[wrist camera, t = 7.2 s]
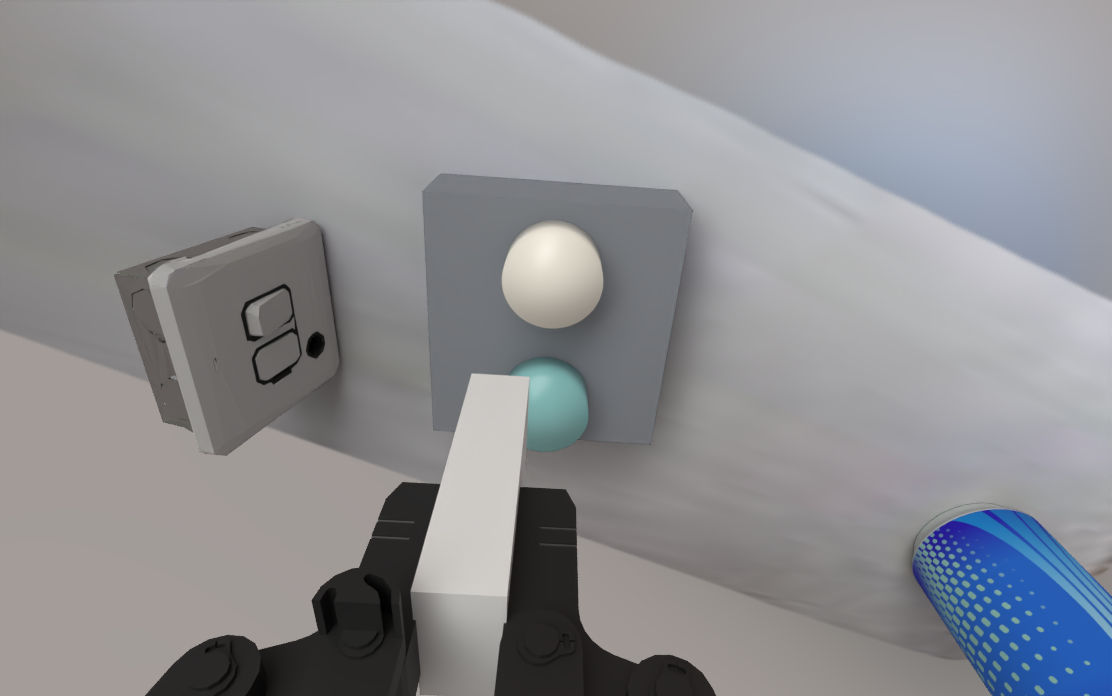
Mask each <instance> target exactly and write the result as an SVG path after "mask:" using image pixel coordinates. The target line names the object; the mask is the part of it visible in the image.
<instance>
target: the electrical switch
mask: <svg viewBox="0 0 1112 696" xmlns="http://www.w3.org/2000/svg"><path fill="white" fill-rule="evenodd" d="M117 273H121V274H124V275H120V274H115V275H114V277H115V280H116V283H117V286H118V289H119V292H120V295H121V298H122V301H123V304H124V307H125V310H126V313H127V316H128V319H129V322H130V325H131V328H132V331H133V334H134V337H135V340H136V343H137V346H138V349H139V351H140V354H141V357H142V360H143V363H144V366H145V369H146V372H147V375H148V378H149V381H150V384H151V387H152V390H153V393H154V396H155V399H156V402H157V405H158V408H159V411H160V414H161V417H162V420H163V422H165V423H169V424H173V425H177V426H181V427H185V428H186V429H188V430H190V431H192V432H193V433H194V436H195V439H196V443H197V446H198V449H199V452H202V453H205V454H214V455H225V456H226V455H228V454H229V453H231V452H232V451H233V450H235V449H236V448H237V447H238V446H240V445H241V444H243V443H244V442H245V441H247V440H248V439H249V438H251V437H252V436H253V435H255V434H256V433H257V432H259V431H260V430H261V429H263V428H264V427H265V426H267V425H268V424H270V423H271V422H272V421H274V420H275V419H276V418H278V417H279V416H280V415H282V414H283V413H284V412H286V411H287V410H288V409H290V408H291V407H292V406H294V405H295V404H296V403H298V402H299V401H300V400H302V399H303V398H304V397H306V396H307V395H308V394H310V393H311V392H312V391H314V390H315V389H316V388H318V387H319V386H320V385H322V384H323V383H324V382H326V381H327V380H328V379H330V378H331V377H332V376H334V375H335V373H336V371H337V369H338V366H339V364H340V359H339V352H338V345H337V338H336V331H335V325H334V318H333V311H332V304H331V297H330V290H329V283H328V276H327V269H326V263H325V256H324V249H323V242H322V235H321V229H320V226H319V225H318V224H316V223H315V222H314V221H312V220H308V219H303V218H294V219H290V220H288V221H286V222H283V223H282V224H280V225H277V226H274V227H272V228H269V229H261V228H255V227H251V228H248V229H245V230H242V231H239V232H236V233H233V234H230V235H227V236H224V237H221V238H218V239H215V240H212V241H209V242H206V243H203V244H200V245H197V246H194V247H191V248H188V249H185V250H182V251H179V252H176V253H173V254H170V255H167V256H164V257H161V258H158V259H155V260H152V261H149V262H146V263H143V264H140V265H137V266H134V267H131V268H128V269H125V270H122V271H119V272H117ZM125 275H128V276H125ZM130 276H132V277H130ZM135 277H136V278H135ZM138 290H139V291H138ZM136 291H137V292H136ZM153 332H154V333H156V334H154V333H153ZM173 375H175V376H176V377H177V379H178V380H173V379H171V378H170V377H171V376H173ZM164 403H165V404H166V405H165V404H164Z"/></svg>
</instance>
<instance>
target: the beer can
mask: <svg viewBox="0 0 1112 696" xmlns="http://www.w3.org/2000/svg"><path fill="white" fill-rule="evenodd" d="M912 570H913V574H914V576H915V579H916V580H917V582H918V583H919V585H920V586H921V588H922V589H923V591H924V593H925V594H926V596H927V597H928V599H929V600H930V602H931V603H932V605H933V606H934V608H935V609H936V611H937V612H938V614H939V616H940V617H941V619H942V620H943V622H944V623H945V625H946V626H947V628H948V629H949V631H950V632H951V634H952V635H953V637H954V638H955V640H956V642H957V643H958V645H959V646H960V648H961V649H962V651H963V652H964V654H965V655H966V657H967V658H968V660H969V661H970V663H971V665H972V666H973V668H974V669H975V671H976V672H977V674H978V675H979V677H980V678H981V680H982V681H983V683H984V684H985V686H986V688H987V689H988V691H989V692H990V694H991V695H992V696H1112V596H1111V595H1110V594H1109V593H1108V592H1107V591H1106V590H1105V589H1104V588H1103V587H1102V586H1101V585H1100V584H1099V583H1098V582H1097V581H1096V580H1095V579H1094V578H1093V577H1092V576H1091V575H1090V574H1089V573H1088V572H1087V571H1086V570H1085V569H1084V568H1083V567H1082V566H1081V565H1080V564H1079V563H1078V562H1077V561H1076V560H1075V559H1074V558H1073V557H1072V556H1071V555H1070V554H1069V553H1068V552H1067V551H1066V550H1065V549H1064V548H1063V547H1062V546H1061V545H1060V544H1059V543H1058V542H1057V541H1056V540H1055V539H1054V538H1053V537H1052V536H1051V535H1050V534H1049V533H1048V532H1047V531H1046V529H1045V528H1044V527H1043V526H1042V525H1041V524H1040V523H1039V522H1038V521H1036V520H1035V519H1034V518H1033V517H1031V516H1029V515H1028V514H1025V513H1023V512H1020V511H1017V510H1012V509H1006V508H1004V507H1002V506H998V505H994V504H987V503H976V504H968V505H963V506H960V507H956V508H953V509H951V510H948V511H946V512H944V513H942V514H940V515H939V516H937V517H935V518H934V519H933V520H931V521H930V522H929V523H928V524H927V525H926V526H925V527H924V528H923V529H922V530H921V531H920V533H919V534H918V536H917V538H916V540H915V544H914V556H913V560H912Z"/></svg>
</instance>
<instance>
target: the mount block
mask: <svg viewBox="0 0 1112 696" xmlns="http://www.w3.org/2000/svg"><path fill="white" fill-rule="evenodd" d="M422 193H423V215H424V237H425V259H426V280H427V302H428V324H429V346H430V368H431V390H432V412H433V430H436V431H451V432H455V431H456V428H457V424H458V420H459V417H460V413H461V410H462V406H463V403H464V399H465V395H466V392H467V388H468V385H469V381H470V378H471V374H472V373H473V374H490V375H509V373H510V372H511V371H512V370H513V369H514V368H515V367H516V366H518V365H519V364H521V363H522V362H524V361H527V360H530V359H533V358H540V357H549V358H555V359H559V360H562V361H564V362H566V363H568V364H570V365H571V366H573V367H574V368H575V369H576V370H577V371H578V372H579V373H580V374H581V376H582V377H583V379H584V381H585V383H586V387H587V397H588V423H587V426H586V429H585V431H584V432H583V434H582V435H581V437H580V438H579V439H578V440H588V441H603V442H619V443H634V444H649V445H651V440H652V434H653V429H654V423H655V418H656V412H657V406H658V401H659V395H660V390H661V384H662V379H663V373H664V368H665V362H666V357H667V351H668V345H669V340H670V334H671V329H672V323H673V318H674V312H675V307H676V301H677V296H678V290H679V284H680V279H681V273H682V268H683V262H684V257H685V251H686V246H687V240H688V234H689V229H690V223H691V218H692V212H693V210H692V209H691V207H690V206H689V205H688V203H687V202H686V201H685V199H684V198H683V197H682V196H681V194H680V193H679V192H678V190H665V189H651V188H637V187H623V186H609V185H595V184H581V183H567V182H553V181H539V180H525V179H511V178H497V177H482V176H468V175H454V174H440V175H439V176H438V177H437V178H436V179H435V180H434V181H432V182H431V183H430V184H429V185H428V186H427V187H426V188H425V189H424V190H423V191H422ZM548 220H559V221H565V222H568V223H571V224H574V225H576V226H577V227H579V228H581V229H582V230H583V231H585V232H586V233H587V234H588V235H589V236H590V237H591V238H592V240H593V241H594V243H595V244H596V246H597V249H598V251H599V254H600V258H601V265H602V272H603V290H602V294H601V297H600V300H599V302H598V304H597V305H596V307H595V308H594V310H593V311H592V312H591V313H590V314H589V315H588V316H587V317H586V318H584V319H583V320H581V321H580V322H578V323H576V324H574V325H571V326H568V327H564V328H556V329H553V328H542V327H538V326H535V325H533V324H530V323H528V322H526V321H525V320H523V319H522V318H520V317H519V316H518V315H517V314H516V313H515V312H514V311H513V310H512V309H511V307H510V306H509V304H508V302H507V300H506V298H505V296H504V293H503V288H502V272H503V268H504V264H505V261H506V258H507V254H508V251H509V249H510V246H511V244H512V243H513V241H514V240H515V238H516V237H517V236H518V235H519V234H520V233H521V232H522V231H523V230H525V229H526V228H527V227H529V226H531V225H533V224H535V223H538V222H542V221H548Z"/></svg>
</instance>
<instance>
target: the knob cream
mask: <svg viewBox="0 0 1112 696" xmlns="http://www.w3.org/2000/svg"><path fill="white" fill-rule="evenodd" d="M502 288H503V293H504V296H505V298H506V300H507V302H508V304H509V306H510V307H511V309H512V310H513V311H514V312H515V313H516V314H517V315H518V316H519V317H520V318H522V319H523V320H525V321H526V322H528V323H530V324H533V325H535V326H538V327H542V328H553V329H556V328H564V327H568V326H571V325H574V324H576V323H578V322H580V321H581V320H583V319H584V318H586V317H587V316H588V315H589V314H590V313H591V312H592V311H593V310H594V308H595V307H596V305H597V304H598V302H599V300H600V297H601V294H602V290H603V272H602V265H601V258H600V254H599V251H598V249H597V246H596V244H595V243H594V241H593V240H592V238H591V237H590V236H589V235H588V234H587V233H586V232H585V231H583V230H582V229H581V228H579V227H577V226H576V225H574V224H571V223H568V222H565V221H559V220H548V221H542V222H538V223H535V224H533V225H531V226H529V227H527V228H526V229H525V230H523V231H522V232H521V233H520V234H519V235H518V236H517V237H516V238H515V240H514V241H513V243H512V244H511V246H510V249H509V251H508V254H507V258H506V261H505V264H504V268H503V272H502Z"/></svg>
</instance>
